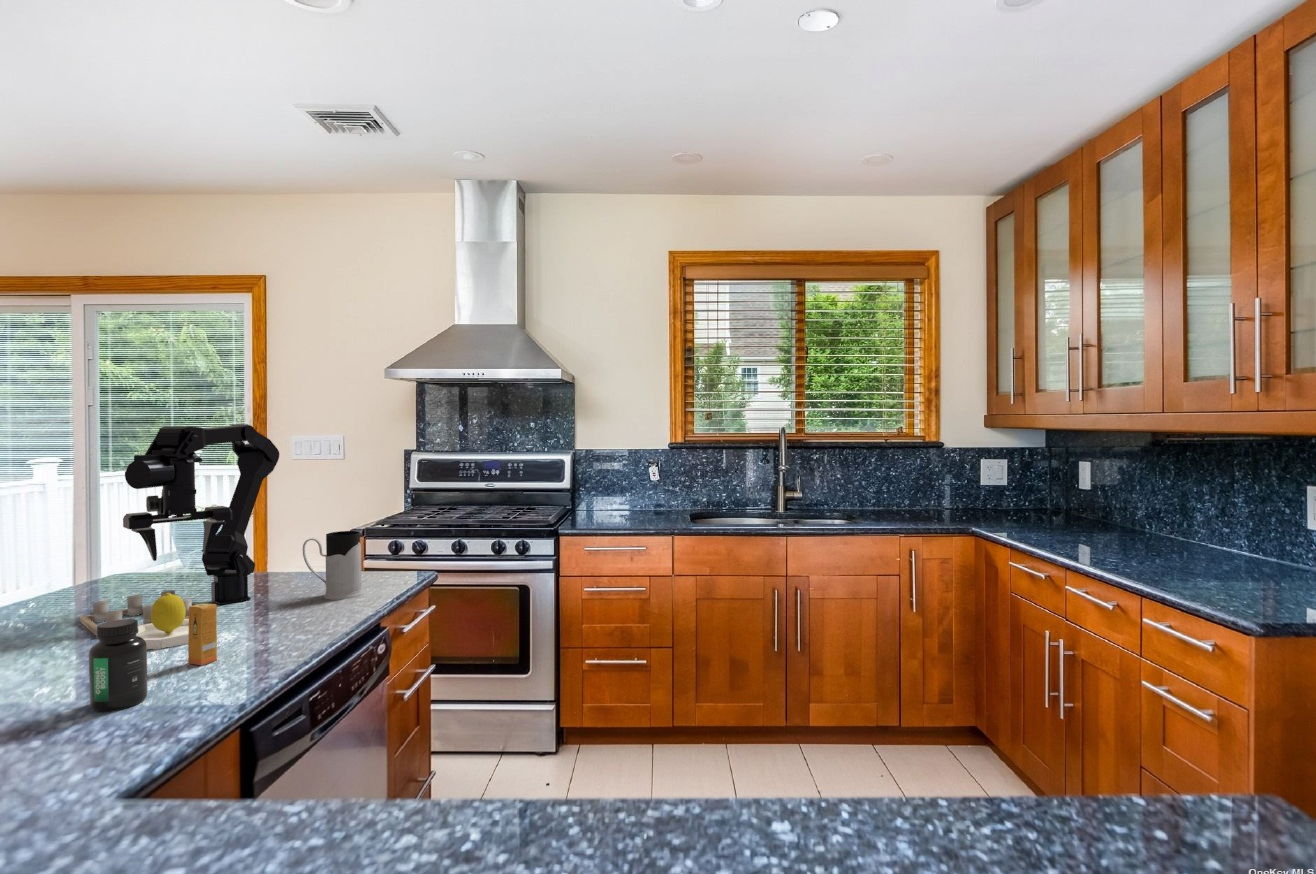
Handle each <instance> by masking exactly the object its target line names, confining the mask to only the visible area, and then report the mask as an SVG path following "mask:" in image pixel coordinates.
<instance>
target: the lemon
mask: <svg viewBox="0 0 1316 874" xmlns="http://www.w3.org/2000/svg"><path fill="white" fill-rule="evenodd" d="M152 605H153V607H152V610H151V621H152V624H153V625H154V627H155V628H157V629H158V630H161V631H164V632H165V633H167V634H170V633H171V632H172V631H173V630H174V629H176V628H178V627H179V626H180V625H181V624H182V623H183V621H184V619H185V615H186V609H185V605H184V602H183V599H182V598H181V597H180V596H178V595H176V594H175V595H173V594H171V593H166V594H165V595H164V596H162V597H161V596H160V597H159V598H157V599H156V600H155V601H154V602H153V604H152Z"/></svg>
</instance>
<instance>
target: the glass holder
mask: <svg viewBox="0 0 1316 874" xmlns="http://www.w3.org/2000/svg"><path fill="white" fill-rule="evenodd" d="M309 541H314V542H316V543H317V544H318V547H319V554H320V556H322V557H324V558H325V578H324V577H323V576H321V575H320V574H318V573H317V572H316V571H315V570H314V568H312V566H311V565H310V563H309V561H308V558H307V555H306V545H307V542H309ZM325 541H326V542H325V545H326V547H325V548H326V549H325V550H326V551H325V552H326V553H325V554H324V553H323V547H322V543H321V542H320V541H319V540H318V539H317V538H315V537H313V538H308V539H306V540H305V541H304V542H303V544H302V557H303V560H304V562H305V565H306V566H307V568H308V569H309V571H310V572H311V573H312V574H313V575H315V577H317V578H319V580H321V581H322V582H323V583H324V584H325V593H324V595H323V598H324V599H326V600H327V599H328V600H333V601H334V600H337V601H338V600H348V599H355V598H358V597H361V596H363V595H364V590H363V588H362V544H361V532H360V531H357V530H355V531H354V530H343V531H341V530H340V531H333V532H329V533H326V534H325Z"/></svg>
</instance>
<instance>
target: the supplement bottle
mask: <svg viewBox="0 0 1316 874" xmlns="http://www.w3.org/2000/svg"><path fill="white" fill-rule="evenodd" d="M138 621H139V620H137V619H134V618H122V619H121V620H114V621H109V622H101V623H100V624H98V625H97V636H96V640H97V642H96V643H95V644H93V645H92V646H91V648H90V649H89V651H88V678H89V679H88V683H89V686H88V688H89V706H90V708H91V709H92V710H93V711H94V712H115V711H120V710H124V709H129V708H131V707H135V706H137V705H139V704H141V703H142V702H144V701H145V700H146V699H147V697H148V687H149V686H148V653H147V652H148V650H147V645H146V642H145V640H144V639H143V638H141V637H138V636H136V634H137V633H138V625H139V624H138Z"/></svg>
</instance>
